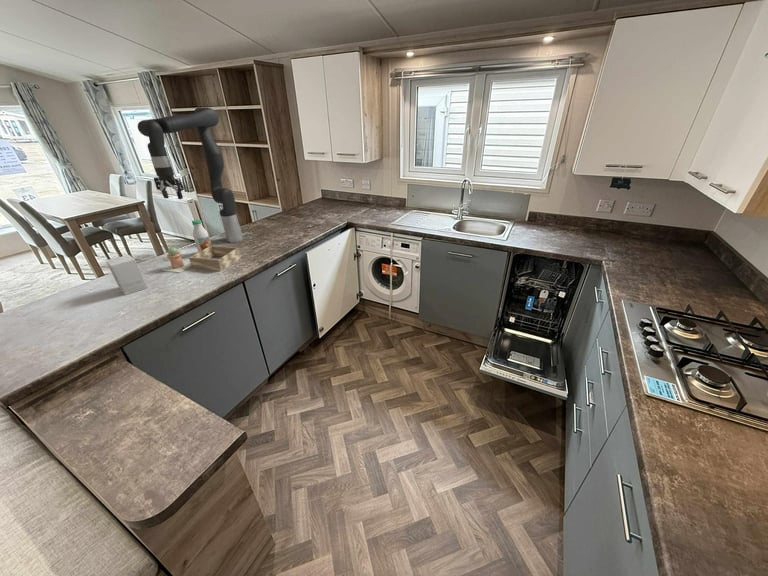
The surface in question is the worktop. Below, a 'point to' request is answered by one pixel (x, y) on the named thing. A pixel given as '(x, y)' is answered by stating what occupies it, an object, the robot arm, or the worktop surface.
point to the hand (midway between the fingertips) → (173, 198)
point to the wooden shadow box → (204, 261)
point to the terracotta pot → (175, 258)
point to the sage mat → (179, 270)
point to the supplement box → (126, 274)
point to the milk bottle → (200, 236)
